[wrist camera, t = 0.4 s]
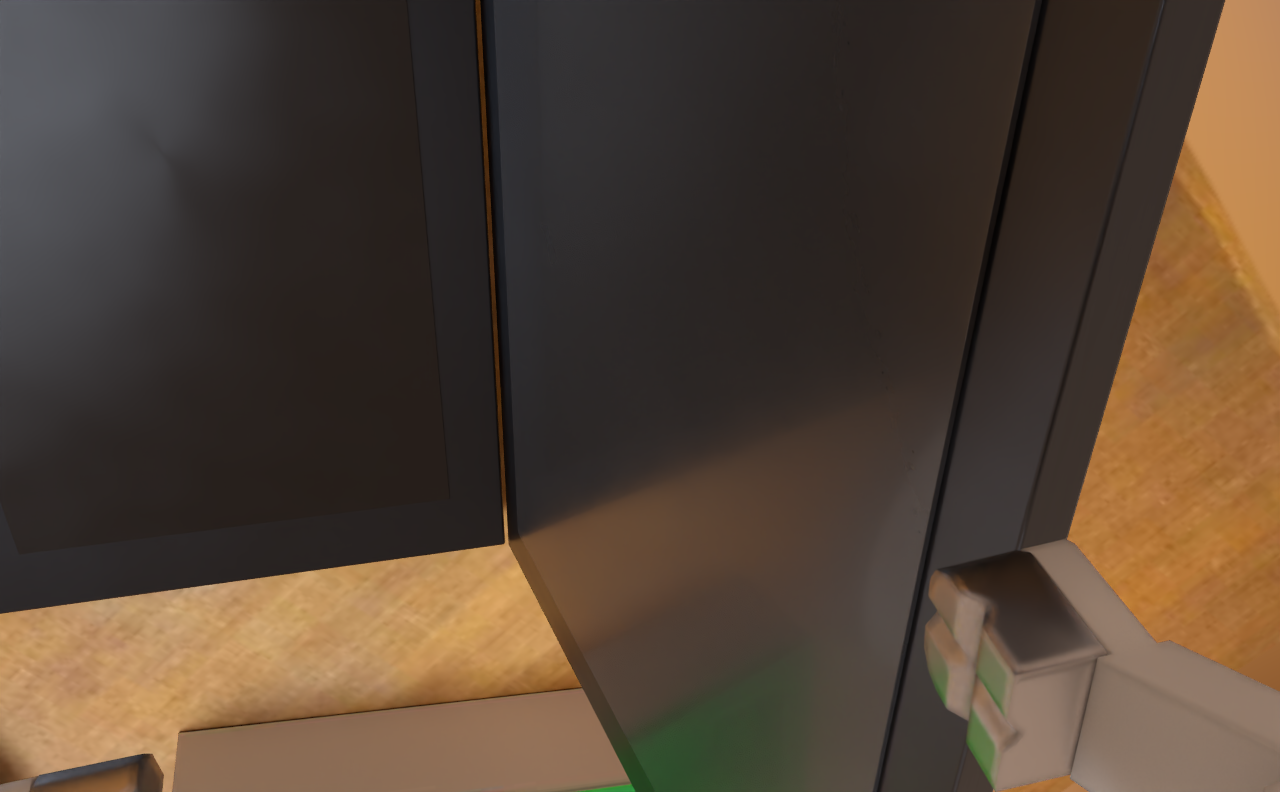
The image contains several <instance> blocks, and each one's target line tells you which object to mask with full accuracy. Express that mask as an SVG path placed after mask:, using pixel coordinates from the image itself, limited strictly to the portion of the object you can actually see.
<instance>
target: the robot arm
mask: <svg viewBox="0 0 1280 792" xmlns="http://www.w3.org/2000/svg"><path fill="white" fill-rule="evenodd" d="M928 596H929V598H930V599H931V601H932V603H933V604H934V606H935V608H936V609H937V612H936V613H935V614H934V615H933V616H932V618H931V619H930V620H929V621H928V623H927V624H926V625H925V640H924V650H925V655H926V660H927V665H928V670H929V673H930V676H931V678H932V681H933V683H934V686H935V688H936V691H937V693H938V694H939V696H940V698H941V700H942V701H943V703H944V705H945V707H946V709H948V710H949V711H951V712H953V713H955V714H957V715H958V716H960V717H962V718H964V719H965V720H967V721H968V728H967V736H966V743H967V745H968V747H969V748H970V750H971V752H972V753H973V755H974V757H975V758H976V760H977V762H978V764H979V765H980V767H981V769H982V770H983V772H984V774H985V775H986V777H987V779H988V780H989V782H990V784H991V786H992V787H993V789H994V791H995V792H998V791H1002V790H1006V789H1011V788H1015V787H1019V786H1023V785H1028V784H1032V783H1036V782H1040V781H1045V780H1049V779H1053V778H1058V777H1062V776H1066V775H1070V774H1071V776H1070V779H1071V780H1073V781H1074V782H1076V783H1077V784H1078V785H1080V786H1081V787H1083V788H1084V789H1086V790H1087V791H1089V792H1280V692H1279V691H1277V690H1275V689H1273V688H1271V687H1268V686H1266V685H1264V684H1262V683H1260V682H1258V681H1256V680H1253V679H1251V678H1249V677H1247V676H1245V675H1243V674H1241V673H1238V672H1236V671H1234V670H1232V669H1230V668H1228V667H1226V666H1223V665H1221V664H1219V663H1217V662H1215V661H1213V660H1211V659H1209V658H1206V657H1204V656H1202V655H1200V654H1198V653H1196V652H1194V651H1191V650H1189V649H1187V648H1185V647H1183V646H1181V645H1179V644H1176V643H1174V642H1172V641H1170V640H1169V641H1164V642H1160V643H1157V642H1156V641H1155V640H1154V639H1153V638H1152V636H1151V635H1150V634H1149V633H1148V632H1147V630H1146V629H1145V628H1144V627H1143V625H1142V624H1141V623H1140V622H1139V621H1138V619H1137V618H1136V617H1135V616H1134V615H1133V613H1132V612H1131V611H1130V610H1129V609H1128V607H1127V606H1126V605H1125V604H1124V603H1123V601H1122V600H1121V599H1120V598H1119V597H1118V595H1117V594H1116V593H1115V592H1114V590H1113V589H1112V588H1111V587H1110V586H1109V584H1108V583H1107V582H1106V581H1105V580H1104V578H1103V577H1102V576H1101V575H1100V574H1099V572H1098V571H1097V570H1096V569H1095V568H1094V566H1093V565H1092V564H1091V563H1090V562H1089V560H1088V559H1087V558H1086V557H1085V555H1084V554H1083V553H1082V552H1081V551H1080V549H1079V548H1078V547H1077V546H1076V545H1075V544H1074V543H1072V542H1070V541H1068V540H1067V539H1063V540H1058V541H1054V542H1050V543H1046V544H1041V545H1037V546H1033V547H1029V548H1024V549H1022V550H1014V551H1010V552H1006V553H1002V554H998V555H993V556H989V557H985V558H981V559H977V560H973V561H969V562H965V563H961V564H957V565H952V566H948V567H944V568H940V569H936V570H935V572H934V573H933V575H932V577H931V579H930V586H929V594H928ZM163 778H164V774H163V773H162V771H161V769H160V767H159V765H158V764H157V762H156V760H155V758H154V756H153V754H140V755H135V756H130V757H126V758H121V759H116V760H111V761H106V762H101V763H97V764H92V765H87V766H82V767H77V768H72V769H67V770H63V771H58V772H53V773H48V774H43V775H39V776H37V777H32V778H27V779H22V780H18V781H13V782H8V783H4V784H0V792H162V788H163Z"/></svg>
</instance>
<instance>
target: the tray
mask: <svg viewBox="0 0 1280 792" xmlns="http://www.w3.org/2000/svg"><path fill="white" fill-rule="evenodd" d="M172 792H635V790H634V788H633V786H632V784H631V782H630V780H629V778H628V776H627V774H626V772H625V770H624V768H623V766H622V764H621V762H620V760H619V759H618V757H617V755H616V753H615V751H614V749H613V747H612V745H611V743H610V741H609V739H608V737H607V735H606V733H605V731H604V729H603V727H602V725H601V723H600V721H599V719H598V718H597V716H596V714H595V712H594V710H593V708H592V706H591V704H590V702H589V700H588V698H587V696H586V694H585V692H584V690H583V688H580V689H571V690H562V691H553V692H544V693H535V694H526V695H517V696H508V697H499V698H489V699H480V700H471V701H462V702H453V703H444V704H435V705H426V706H417V707H408V708H399V709H390V710H381V711H372V712H363V713H354V714H345V715H336V716H327V717H318V718H309V719H300V720H291V721H282V722H273V723H264V724H255V725H246V726H237V727H228V728H219V729H210V730H201V731H192V732H183V733H179V734H178V743H177V753H176V762H175V772H174V781H173V791H172Z"/></svg>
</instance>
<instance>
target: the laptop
mask: <svg viewBox="0 0 1280 792" xmlns="http://www.w3.org/2000/svg"><path fill="white" fill-rule="evenodd" d="M504 543H505V533H504V515H503V497H502V478H501V460H500V441H499V423H498V405H497V386H496V368H495V350H494V331H493V313H492V295H491V276H490V258H489V240H488V221H487V203H486V184H485V166H484V148H483V129H482V111H481V93H480V74H479V56H478V38H477V19H476V1H475V0H0V614H2V613H9V612H16V611H23V610H31V609H38V608H45V607H52V606H60V605H67V604H74V603H81V602H89V601H96V600H103V599H110V598H118V597H125V596H132V595H139V594H146V593H154V592H161V591H168V590H175V589H183V588H190V587H197V586H204V585H212V584H219V583H226V582H233V581H241V580H248V579H255V578H262V577H270V576H277V575H284V574H291V573H299V572H306V571H313V570H320V569H328V568H335V567H342V566H349V565H357V564H364V563H371V562H378V561H386V560H393V559H400V558H407V557H415V556H422V555H429V554H436V553H443V552H451V551H458V550H465V549H472V548H480V547H487V546H494V545H501V544H504Z"/></svg>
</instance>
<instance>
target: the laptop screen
mask: <svg viewBox="0 0 1280 792" xmlns="http://www.w3.org/2000/svg"><path fill="white" fill-rule="evenodd" d="M1224 2H1225V0H480V5H481V24H482V43H483V62H484V81H485V100H486V120H487V139H488V158H489V177H490V196H491V215H492V234H493V254H494V273H495V292H496V311H497V330H498V349H499V368H500V388H501V407H502V426H503V445H504V464H505V483H506V502H507V522H508V541H509V546H510V548H511V550H512V552H513V553H514V555H515V557H516V559H517V561H518V563H519V565H520V567H521V569H522V571H523V573H524V575H525V577H526V579H527V581H528V583H529V585H530V587H531V589H532V591H533V593H534V594H535V596H536V598H537V600H538V602H539V604H540V606H541V608H542V610H543V612H544V614H545V616H546V618H547V620H548V622H549V624H550V626H551V628H552V630H553V632H554V634H555V635H556V637H557V639H558V641H559V643H560V645H561V647H562V649H563V651H564V653H565V655H566V657H567V659H568V661H569V663H570V665H571V667H572V669H573V671H574V673H575V675H576V677H577V678H578V680H579V682H580V684H581V686H582V688H583V690H584V692H585V694H586V696H587V698H588V700H589V702H590V704H591V706H592V708H593V710H594V712H595V714H596V716H597V718H598V719H599V721H600V723H601V725H602V727H603V729H604V731H605V733H606V735H607V737H608V739H609V741H610V743H611V745H612V747H613V749H614V751H615V753H616V755H617V757H618V759H619V760H620V762H621V764H622V766H623V768H624V770H625V772H626V774H627V776H628V778H629V780H630V782H631V784H632V786H633V788H634V790H635V792H993V787H992V786H991V784H990V782H989V780H988V779H987V777H986V775H985V774H984V772H983V770H982V769H981V767H980V765H979V764H978V762H977V760H976V758H975V757H974V755H973V753H972V752H971V750H970V748H969V747H968V745H967V743H966V736H967V728H968V721H967V720H965V719H964V718H962V717H960V716H958V715H957V714H955V713H953V712H951V711H949V710H948V709H946V707H945V705H944V703H943V701H942V700H941V698H940V696H939V694H938V693H937V691H936V688H935V686H934V683H933V681H932V678H931V676H930V673H929V670H928V665H927V660H926V655H925V650H924V640H925V625H926V624H927V623H928V621H929V620H930V619H931V618H932V616H933V615H934V614H935V613H936V612H937V609H936V608H935V606H934V604H933V603H932V601H931V599H930V598H929V596H928V594H929V586H930V579H931V577H932V575H933V573H934V572H935V570H936V569H940V568H944V567H948V566H952V565H957V564H961V563H965V562H969V561H973V560H977V559H981V558H985V557H989V556H993V555H998V554H1002V553H1006V552H1010V551H1014V550H1022V549H1024V548H1029V547H1033V546H1037V545H1041V544H1046V543H1050V542H1054V541H1058V540H1063V539H1067V537H1068V534H1069V530H1070V527H1071V523H1072V520H1073V517H1074V513H1075V510H1076V506H1077V503H1078V500H1079V496H1080V493H1081V489H1082V486H1083V483H1084V479H1085V476H1086V472H1087V469H1088V466H1089V462H1090V459H1091V455H1092V452H1093V449H1094V445H1095V442H1096V438H1097V435H1098V432H1099V428H1100V425H1101V421H1102V418H1103V415H1104V411H1105V408H1106V404H1107V401H1108V398H1109V394H1110V391H1111V387H1112V384H1113V381H1114V377H1115V374H1116V370H1117V367H1118V363H1119V360H1120V357H1121V353H1122V350H1123V346H1124V343H1125V340H1126V336H1127V333H1128V329H1129V326H1130V323H1131V319H1132V316H1133V312H1134V309H1135V306H1136V302H1137V299H1138V295H1139V292H1140V289H1141V285H1142V282H1143V278H1144V275H1145V272H1146V268H1147V265H1148V261H1149V258H1150V255H1151V251H1152V248H1153V244H1154V241H1155V238H1156V234H1157V231H1158V227H1159V224H1160V221H1161V217H1162V214H1163V210H1164V207H1165V204H1166V200H1167V197H1168V193H1169V190H1170V187H1171V183H1172V180H1173V176H1174V173H1175V170H1176V166H1177V163H1178V159H1179V156H1180V152H1181V149H1182V146H1183V142H1184V139H1185V135H1186V132H1187V129H1188V125H1189V122H1190V118H1191V115H1192V112H1193V108H1194V105H1195V101H1196V98H1197V95H1198V91H1199V88H1200V84H1201V81H1202V78H1203V74H1204V71H1205V67H1206V64H1207V60H1208V57H1209V54H1210V50H1211V47H1212V44H1213V40H1214V37H1215V33H1216V30H1217V26H1218V23H1219V19H1220V16H1221V12H1222V9H1223V6H1224Z"/></svg>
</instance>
